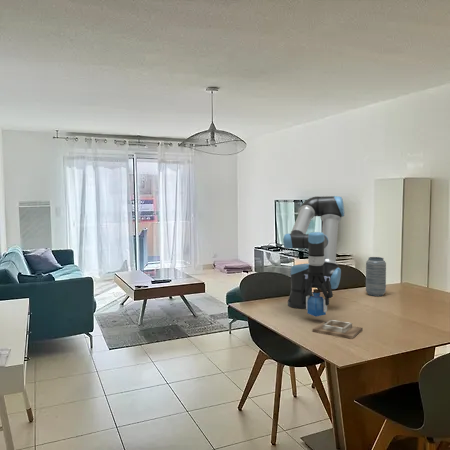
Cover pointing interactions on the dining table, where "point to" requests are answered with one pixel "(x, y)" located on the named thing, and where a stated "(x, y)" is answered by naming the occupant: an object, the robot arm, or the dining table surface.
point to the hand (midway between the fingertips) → (316, 310)
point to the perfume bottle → (316, 304)
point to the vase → (375, 276)
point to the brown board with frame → (338, 329)
